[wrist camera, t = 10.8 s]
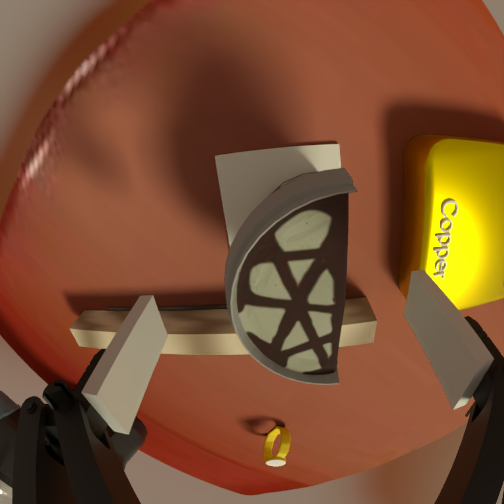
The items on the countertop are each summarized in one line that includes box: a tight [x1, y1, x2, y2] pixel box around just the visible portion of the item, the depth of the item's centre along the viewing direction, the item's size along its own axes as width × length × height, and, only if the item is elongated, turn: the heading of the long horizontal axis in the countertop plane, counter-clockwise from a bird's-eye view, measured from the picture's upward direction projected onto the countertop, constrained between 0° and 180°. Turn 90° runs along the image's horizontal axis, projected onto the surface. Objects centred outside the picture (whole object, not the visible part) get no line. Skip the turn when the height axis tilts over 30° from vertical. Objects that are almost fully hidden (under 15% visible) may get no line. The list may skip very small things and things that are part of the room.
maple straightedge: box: [70, 297, 377, 355], centre depth 25 cm, size 30×3×4 cm, turn 98°
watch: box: [263, 426, 290, 466], centre depth 33 cm, size 6×3×6 cm, turn 156°
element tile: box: [398, 134, 504, 311], centre depth 18 cm, size 15×15×5 cm
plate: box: [215, 144, 341, 246], centre depth 22 cm, size 9×13×1 cm
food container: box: [224, 168, 358, 385], centre depth 17 cm, size 12×6×10 cm, turn 6°
